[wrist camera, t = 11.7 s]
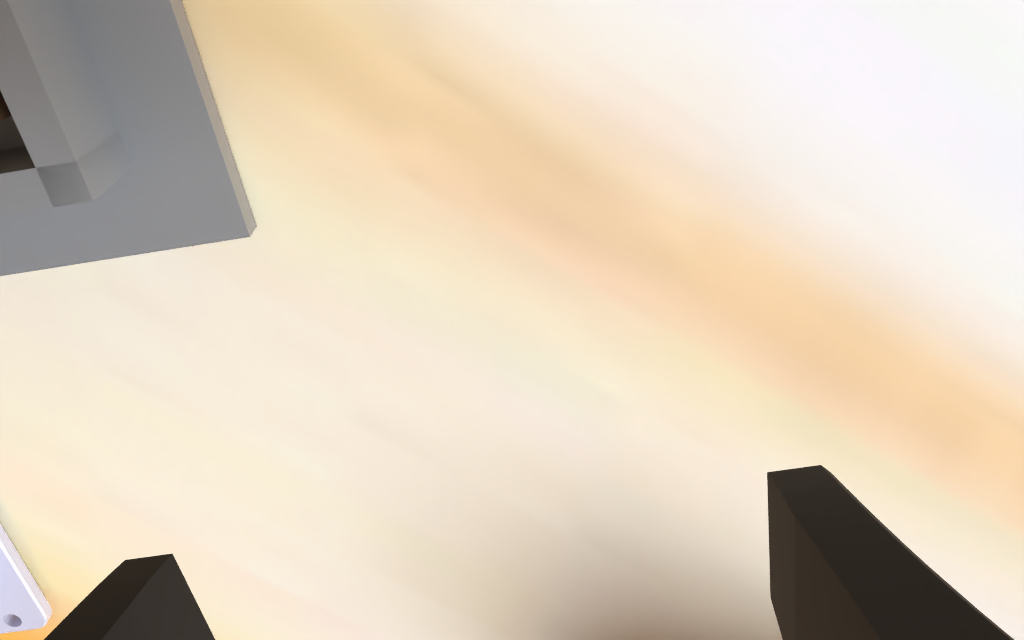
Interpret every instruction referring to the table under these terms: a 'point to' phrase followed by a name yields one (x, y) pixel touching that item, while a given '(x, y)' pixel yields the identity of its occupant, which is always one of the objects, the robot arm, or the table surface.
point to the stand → (109, 136)
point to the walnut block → (3, 108)
